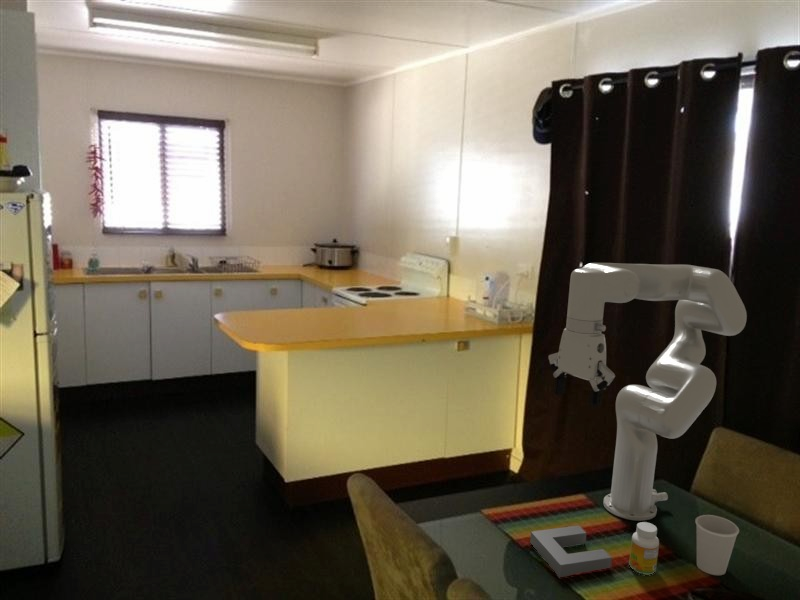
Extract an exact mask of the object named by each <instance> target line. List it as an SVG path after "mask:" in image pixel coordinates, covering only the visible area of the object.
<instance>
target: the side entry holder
mask: <svg viewBox="0 0 800 600" xmlns="http://www.w3.org/2000/svg"><path fill="white" fill-rule="evenodd" d="M529 541H530V542H529V544H530V543H531V544H532V545H533V547H534V548H535V549H536V550H537V551H538V553H539V554H540V555H541V556H542V557H543V558H544V559H545V561H546V562H547V563H548V564H549V565H550V566H551V568H552V569H553V570H554V571H555V573H556V574H557V575H556V574H555V575H556V576H557V577H558V579H561V578H560V577H564V576H569V575H573V574H576V573H582V572H587V571H593V570H599V569H606V568H610V567H611V568H612V559H613V558H612V556H611V555H610V554H609V553H608V552H607V551H606V550H605V549H604V548H599V549H592V550H587V551H579V552H573V553H571V552H570V553H568V552H567V551H566V550H565V549H564V548H562V547H563V546H570V545H576V544H582V543H587V542H586V541H587V532H586V531H585V529H583V528H582V527H581V526H580V525H570V526H563V527H556V528H550V529H542V530H540V529H539V530H533V531H530V540H529ZM531 544H530V545H531ZM533 547H532V548H533ZM534 548H533V549H534ZM535 549H534V550H535ZM536 550H535V551H536ZM537 551H536V552H537ZM538 553H537V554H538ZM539 554H538V555H539ZM540 555H539V556H540ZM541 556H540V557H541ZM542 557H541V558H542ZM545 561H544V562H545ZM546 562H545V563H546ZM547 563H546V564H547ZM548 564H547V565H548ZM551 568H550V569H551ZM552 569H551V570H552ZM553 570H552V571H553ZM554 571H553V572H554Z"/></svg>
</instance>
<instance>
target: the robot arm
mask: <svg viewBox="0 0 800 600" xmlns="http://www.w3.org/2000/svg"><path fill="white" fill-rule="evenodd" d="M634 299H636V300H643V301H650V302H651V301H652V302H662V301H663V302H664V301H677V302H676V306H675V310H674V321H675V322H674V325H675V326H674V335H673V338H672V340H671V341H670V342H669V343H668V345H667V347H666V348H664V350H663V351H662V352H661V353H660V354H659V356H658V357H657V358H656V359H655V360H654V361H653V363H652V364H651V365H650V367H649V368H648V370H647V371H646V375H645V380H646V383H647V385H648V386H649V387H648V386H645V385H641V384H628V385H626V386H624V387H623V388H620V389H621V390H619V392H618V393H617V396H616V400H615V414H616V440H615V450H614V459H613V468H612V478H611V487H610V488H611V489H610V493H608V494H607V495H605V496H604V497H603V501H602V502H603V506H604V508H605V509H606V511H608V512H609V513H611V514H612V515H614V516H616V517H619V518H621V519H625V520H630V521H635V522H637V521H638V522H639V521H640V522H641V521H642V522H644V521H649V520H652V519H653V518H655V517H656V515H657V511H658V508H657V506H656V505H655V504H656V503H657V502H662V501H668V499H669V495H668V493H667V492H664V491H663V492H657V490H656V489H655V488H653V487H654V480H655V470H656V463H657V454H658V439H657V435H659V436H660V437H663V438H667V439H678V438H680V437H681V436H683V435H684V434H685V433H686V432H687V431H688V430H689V428H690V427H691V426H692V424H693V423H694V422H695V421H696V420H697V418H699V416H700V415H701V414H702V412H703V410H705V408H706V407H707V406H708V405H709V404H710V402H711V400H712V398H713V397H714V395H715V392H716V388H717V377H716V375H715V373H714V372H713V371H712V370H711V368H708V367H707V366H705V365H702V364H701V363H702V362H703V361H704V359H705V356H706V352H707V351H706V343H705V341H704V338H703V333H702V331H706V332H710V333H713V334H717V335H722V336H728V337H731V336H732V337H733V336H736V335H738V334H740V333H741V332H742V331H743V330H744V329H745V327H746V323H747V319H748V318H747V317H748V315H747V314H748V313H747V310H746V306H745V304H744V303H743V301H742V298H741V296H740V295H739V293H738V291H737V289H736V287H735V285H734V284H733V282H732V281H731V279H730V278H729V276H728V275H727V274H726V273H725V272H723V271H721V270H720V269H718V268H717V269H716V268H710V267H705V266H699V265H698V266H697V265H691V264H655V263H654V264H649V263H621V262H620V263H618V262H617V263H616V262H615V263H614V262H590V263H587V264H585V265H583V267H581V268H576V269H574V270H572V272H571V274H570V279H569V291H568V303H567V312H566V313H567V314H566V325H565V328H564V329H563V331H562V334H561V338H560V343H559V346H558V347H559V348H558V352H555V353H551V354H549V355H548V357H547V358H548V360H549V364H550V365H549V366H550V370H551V371H552V373H553V374H552V375H553V377H554V378H555V380H554V396H560V395H565V394H566V393H567V381H568V377H567V376H566V375H567V374H568V375H570V376H573V377H577V378H579V379H582V380H585V381H588V382H589V383H590V385H591V387H592V390H590V394H589V395H590V397H589V403H588V404H589V406H588V407H589V408H590V409H592V410H593V409H597V408H599V407H601V405H602V401H603V393H604V392H603V391H604V390H606V389H607V388H608V387H609V386H610V385H612V384H611V383H612V382H613V381H614V379H615V378H616V375H615V373H614V372H613V371H612V370H611V369H610V368H609V367H608V365H607V342H606V337H605V336H606V335H605V334H604V333H602V332H605V331H606V330H607V327H606V325H604V324H603V323H604V319H603V318H604V313H605V312H604V310H605V303H614V304H615V303H617V304H623V303H624V304H625V303H628V302H630V301H632V300H634Z"/></svg>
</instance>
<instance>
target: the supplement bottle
mask: <svg viewBox="0 0 800 600" xmlns="http://www.w3.org/2000/svg"><path fill="white" fill-rule="evenodd" d="M657 534H658V528H657V526H656V525H654V524H653V523H650V522H647V521H642V522H641V521H640V522H638V523H637V524H636V530H635V532H633V534H632V536H631V544H630V552H629V558H628V559H629V561H628V566H629V565H630V567H631V568H632V569H634V570H636V571H637V572H639V573H643V574H652V573H654V572H655V573H656V571H657V565H658V556H659V546H660V539H659V538H658V537H657ZM630 567H629V568H630ZM655 573H654V574H655ZM652 575H653V574H652Z"/></svg>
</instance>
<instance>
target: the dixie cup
mask: <svg viewBox="0 0 800 600" xmlns="http://www.w3.org/2000/svg"><path fill="white" fill-rule="evenodd" d="M695 524H696V532H695V533H696V566H697V567H698V569H699V570H701V571H702V572H704V573H706V574H709V575H711V576H722V575H725V574H726V572H727V568H728V567H729V561H730V559H731V555H732V552H733V549H734V546H735V543H736V539H737V536H738V534H739V533H740V529H739V527H738V526H737V524H736V523H734V522H733V521H731V520H729V519H727V518H725V517H722V516H719V515H713V514H703V515H699V516H697V517H696V518H695Z"/></svg>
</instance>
